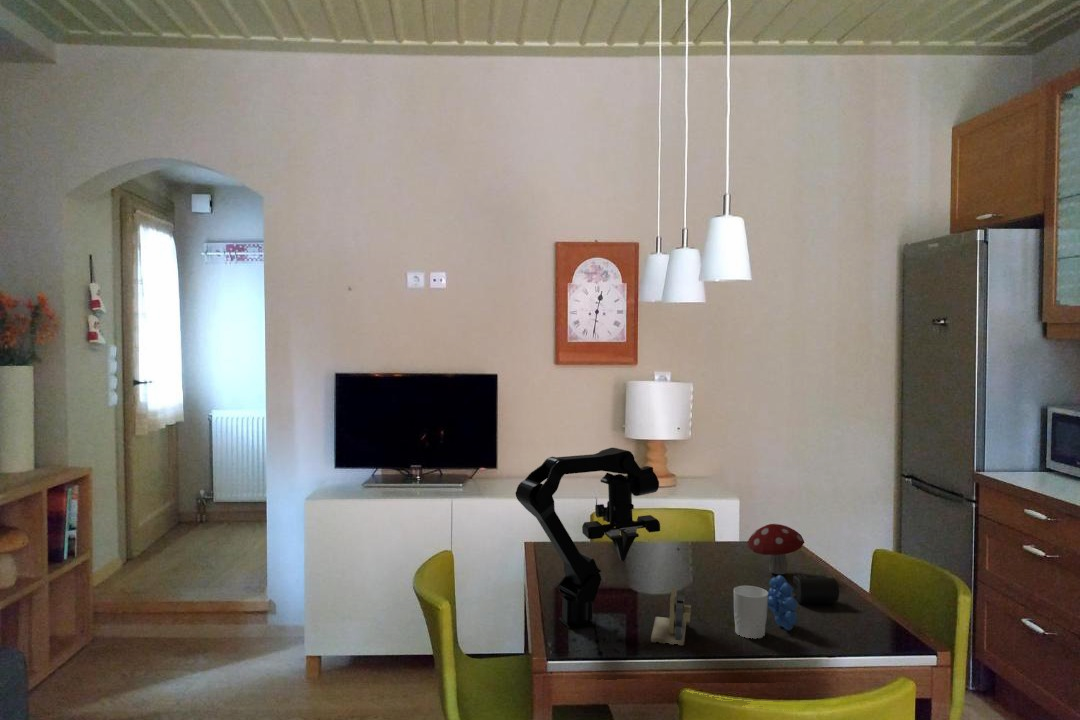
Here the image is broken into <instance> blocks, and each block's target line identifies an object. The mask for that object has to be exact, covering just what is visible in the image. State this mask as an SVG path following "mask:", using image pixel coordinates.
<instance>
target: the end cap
mask: <svg viewBox="0 0 1080 720" xmlns="http://www.w3.org/2000/svg"><path fill="white" fill-rule="evenodd" d="M792 583H793V584H795V585H796V586H792V588H793V593H792V594H794V595H793V596H792V597H793V598H794V599H795V600H796V601H797V602H798V604H807V605H808V604H811V605H812V604H817V605H819V604H825V605H827V604H832V605H833V604H835V603H836V602H838V600H839V597H840V587H839V584H838V581H837V580H836V578H835V577H827V576H826V575H824V574H822V575H820V574H819V575H818V574H816V575H815V576H814V577H808V576H807V575H804V574H802V575H799V574H796V575H793V576H792Z"/></svg>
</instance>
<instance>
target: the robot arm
mask: <svg viewBox="0 0 1080 720" xmlns="http://www.w3.org/2000/svg"><path fill="white" fill-rule="evenodd" d="M592 472H594V473H595V472H606V473H605V475H604V476H603V477H602V478H600V483H603V484H606V485H608V486H607V487H608V488H607V489H608V500H607V503H606V504H607V505H606V506H605V505H604V504H603V503H600V504H595V505H594V506H595V507H594V508H595V517H596V518H602V521H603V522H606V523H607V524H602V523H600V522H599V521H598V520H595V521H594V520H593V521H584V523H583V524H582V527H581V529H582V533H581V534H583V535H584V536H585V537H586V538H587V539H589V540H597V539H602V538H603V537H604V536H606V537H608V538H609V540H611V541H612V543H613V545H614V547H615V551H616V553H617V556H618V558H619V560H620V561H621V562H625V561H626V559H627V555H628V553H629V551H630V549H631V546H632V545H633V543H634V541H635V540H636V539H637V538H639V537H640V535H639V533H637V531H638V530H639V529H645V530H646V531H647V532H648V533H655V532H656V533H657V532H658V533H659V532H660V531H661V523H660V521H659V519H657V518H656V517H655V516H653V515H652V514H650V515H649V514H647V515H641V516H640V515H639V516H638V517H637V518H636V520H633V510H634V509H635V506H634V504H633V496H634V497H639V496H640V497H641V496H645V495H650V494H653V493H654V494H655V493H657V492H658V490H659V488H660V481H659V478H658V475H657V474H656V473H655V471H654V467H653V466H650V465H647V466H645V465H644V466H643V467H640V466H639V464H638V463H637V462H636V460H635V456H634V454H633V453H632V451H630V450H627V449H621V448H618V447H610V448H605V449H602V450H599V452H596V453H593V454H581V455H580V454H579V455H570V456H568V455H567V456H558V457H556V456H549V457H547V458H546V459H545V460H544V462H543V463H542V464H541V465H540V466H538V467H537V468H535V469H534V470H532V471H531V472H530V473H529V474H528V475H527V477H526V478H525V479H524V480H522V481H521V482H519V484H518V485H517V487H516V492H515V497H516V500H517V501H518V502H519V503H520V504H521V505H522V506H523V507H524V508H525V510H526V511H528V512H529V513H530V514H531V515H532V516H533V517H535V518H536V519H537V521H538V523H539V524H540V527H541V528H542V529H543V532H544V533H545V534H546V536H547V537H548V540H549V541H550V542H551V544H552V545H553V548H554V549H555V550H556V552H557V554H558V555H559V557H560V558H561V561H562V562H563V572H564V575H565V576H563V578H562V579H561V581H560V582H559V583H558V585H557V589H558V593H559V594H561V595H563V596H562V606H561V607H562V608H561V610H562V611H561V613H562V615H561V616H559V618H558V619H559V621H561V623H563V624H564V625H565V627H567V628H568V629H571V630H572V629H576V628H577V629H579V628H585V627H592V626H594V625H595V623H594V621H593V618H594V604H593V602H595V601H596V598H597V596H598V595H597V594H598V591H599V589H600V586H601V582H602V575H601V574H600V573H601V572H602V569H600V568H599V567H598V566H597V563H596V560H595V559H594V558H593V557H590V556H588V555H586V554H584V553H583V552H580V551H579V549H578V548H577V546H576V544H575V543H574V541H573V540H572V537H571V536H570V534H569V532H568V531H567V529H566V528H565V526H564V524H563V522H562V520H561V519H560V517H559V516H558V513H556V509H555V500H554V497H553V496H554V495H555V493H556V492H557V490H558V488H559V486H560V483H561V480H562V478H563V477H564V476H565V475H570V474H571V475H572V474H583V473H585V474H586V473H592ZM543 482H544V483H543Z"/></svg>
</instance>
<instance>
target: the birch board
mask: <svg viewBox="0 0 1080 720" xmlns="http://www.w3.org/2000/svg"><path fill="white" fill-rule="evenodd" d="M669 622H670V617H662V616H655V618H654V623H653V628H652V632H651V635H650V636H651V637H650V642H651V643H656V642H659V644H665V643H669V644H668V645H674V644H678V645H677V646H683V645H684V646H685V638H686V629H687V628H686V627H687V622H684V625H683V635H682V637H681V640H675V636H674V634H669Z"/></svg>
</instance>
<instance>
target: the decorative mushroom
mask: <svg viewBox="0 0 1080 720" xmlns="http://www.w3.org/2000/svg"><path fill="white" fill-rule="evenodd" d="M804 544H805V540H804V538H803V536H802V534H800V532H798V531H797V530H795V529H793V528H792V527H790V526H787V525H783V524H779V523H769V524H767V525H763V526H761V527H760V528H758V529H756V530H755V531H754V532H753V533H752V534H751V535H750V536H749V538H748V540H747V546H748V549H749V550H750V551H752V552H753V553H754V554H760V555H762V556H770V559H769V568H768V569H769V570H768V571H769V572H770V573H772V574H775V575H785V574H787V573H788V561H787V557H786V555H787V554H791V553H794V552H797V551H798V550H800V549H801V548H802V547H803V546H804Z"/></svg>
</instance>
